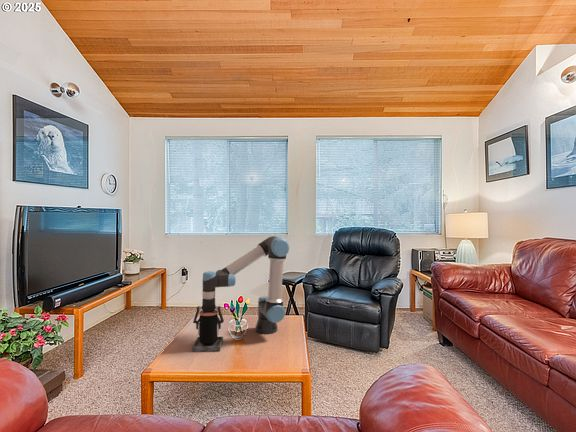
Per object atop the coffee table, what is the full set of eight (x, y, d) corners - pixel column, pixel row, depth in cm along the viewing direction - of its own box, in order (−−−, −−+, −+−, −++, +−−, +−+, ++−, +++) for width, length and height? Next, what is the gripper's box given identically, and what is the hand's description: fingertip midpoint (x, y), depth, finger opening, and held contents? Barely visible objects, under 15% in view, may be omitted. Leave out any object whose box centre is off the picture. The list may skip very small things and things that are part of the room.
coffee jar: (219, 338, 207) (220, 309, 206) (214, 345, 196) (214, 314, 196) (202, 337, 208) (203, 308, 207) (196, 344, 197) (196, 314, 197)
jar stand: (223, 340, 210) (223, 336, 210) (219, 351, 195) (219, 346, 195) (197, 341, 209) (197, 336, 209) (192, 351, 194) (192, 347, 194)
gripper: (228, 296, 206) (228, 331, 206) (190, 296, 204) (190, 332, 205) (227, 299, 198) (227, 336, 199) (187, 299, 197) (187, 336, 197)
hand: (208, 334), depth 202 cm, fingers closed on coffee jar, 10 cm apart
